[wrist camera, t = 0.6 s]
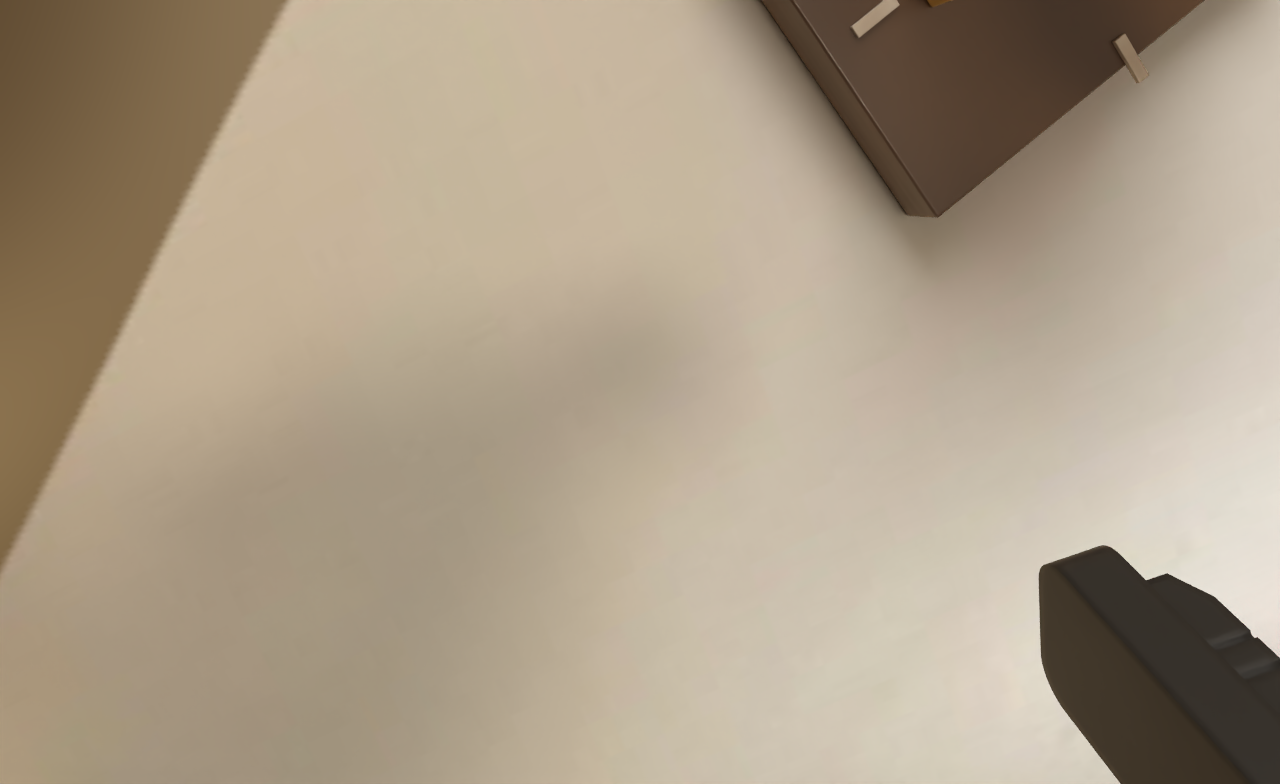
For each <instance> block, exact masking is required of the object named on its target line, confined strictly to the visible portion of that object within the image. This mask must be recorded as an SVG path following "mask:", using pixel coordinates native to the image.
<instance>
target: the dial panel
mask: <svg viewBox="0 0 1280 784" xmlns="http://www.w3.org/2000/svg"><path fill="white" fill-rule="evenodd" d="M1203 1H1204V0H952V1H949V2H946V3H943V4H941V5H938V6H935V7H931V6H930V4H929V2H928V1H927V0H762V2H763V3H764V5H765V6H766V8H767V9H768V11H769V12H770V14H771V15H772V17H773V18H774V19H775V21H776V22H777V24H778V25H779V27H780V28H781V30H782V31H783V33H784V34H785V36H786V37H787V39H788V40H789V42H790V43H791V44H792V46H793V47H794V49H795V50H796V52H797V53H798V55H799V56H800V58H801V59H802V61H803V62H804V64H805V65H806V67H807V68H808V69H809V71H810V72H811V74H812V75H813V77H814V78H815V80H816V81H817V83H818V84H819V86H820V87H821V89H822V90H823V92H824V93H825V94H826V96H827V97H828V99H829V100H830V102H831V103H832V105H833V106H834V108H835V109H836V111H837V112H838V114H839V115H840V117H841V118H842V119H843V121H844V122H845V124H846V125H847V127H848V128H849V130H850V131H851V133H852V134H853V136H854V137H855V139H856V140H857V142H858V143H859V144H860V146H861V147H862V149H863V150H864V152H865V153H866V155H867V156H868V158H869V159H870V161H871V162H872V164H873V165H874V167H875V168H876V169H877V171H878V172H879V174H880V175H881V177H882V178H883V180H884V181H885V183H886V184H887V186H888V187H889V189H890V190H891V192H892V193H893V194H894V196H895V197H896V199H897V200H898V202H899V203H900V205H901V206H902V208H903V209H904V211H905V212H906V214H907V215H909V216H920V217H935V218H937V217H939V216H940V215H942V214H943V213H944V212H945V211H947V210H948V209H949V208H950V207H951V206H953V205H954V204H955V203H956V202H958V201H959V200H960V199H961V198H963V197H964V196H965V195H966V194H967V193H969V192H970V191H971V190H972V189H974V188H975V187H976V186H977V185H978V184H980V183H981V182H982V181H983V180H985V179H986V178H987V177H988V176H990V175H991V174H992V173H993V172H994V171H996V170H997V169H998V168H999V167H1001V166H1002V165H1003V164H1004V163H1006V162H1007V161H1008V160H1009V159H1010V158H1012V157H1013V156H1014V155H1015V154H1017V153H1018V152H1019V151H1020V150H1021V149H1023V148H1024V147H1025V146H1026V145H1028V144H1029V143H1030V142H1031V141H1033V140H1034V139H1035V138H1036V137H1037V136H1039V135H1040V134H1041V133H1042V132H1044V131H1045V130H1046V129H1047V128H1048V127H1050V126H1051V125H1052V124H1053V123H1055V122H1056V121H1057V120H1058V119H1060V118H1061V117H1062V116H1063V115H1064V114H1066V113H1067V112H1068V111H1069V110H1071V109H1072V108H1073V107H1074V106H1075V105H1077V104H1078V103H1079V102H1080V101H1082V100H1083V99H1084V98H1085V97H1087V96H1088V95H1089V94H1090V93H1091V92H1093V91H1094V90H1095V89H1096V88H1098V87H1099V86H1100V85H1101V84H1103V83H1104V82H1105V81H1106V80H1107V79H1109V78H1110V77H1111V76H1112V75H1114V74H1115V73H1116V72H1117V71H1118V70H1120V69H1121V68H1122V67H1123V66H1125V65H1126V66H1127V68H1128V70H1129V72H1130V73H1131V75H1132V77H1133V78H1134V80H1135V82H1136V83H1140V82H1141V81H1143V80H1144V79H1145V78H1146V77H1147V76H1149V74H1148V72H1147V70H1146V69H1145V67H1144V65H1143V63H1142V62H1141V60H1140V58H1139V56H1138V54H1139V53H1141V52H1142V51H1143V50H1144V49H1145V48H1147V47H1148V46H1149V45H1150V44H1152V43H1153V42H1154V41H1155V40H1157V39H1158V38H1159V37H1160V36H1161V35H1163V34H1164V33H1165V32H1166V31H1168V30H1169V29H1170V28H1171V27H1172V26H1174V25H1175V24H1176V23H1177V22H1179V21H1180V20H1181V19H1182V18H1184V17H1185V16H1186V15H1187V14H1188V13H1190V12H1191V11H1192V10H1193V9H1195V8H1196V7H1197V6H1198V5H1199V4H1201V3H1202V2H1203Z"/></svg>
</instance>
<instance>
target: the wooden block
mask: <svg viewBox="0 0 1280 784" xmlns="http://www.w3.org/2000/svg"><path fill="white" fill-rule="evenodd" d="M927 1H928V2H929V4H930V6H931V7H935V6H938V5H941V4H943V3H946V2H949V1H952V0H927Z"/></svg>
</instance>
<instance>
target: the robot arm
mask: <svg viewBox="0 0 1280 784" xmlns="http://www.w3.org/2000/svg"><path fill="white" fill-rule="evenodd" d="M1039 605H1040V638H1041V658H1042V664H1043V667H1044V671H1045V674H1046V677H1047V679H1048V682H1049V684H1050V686H1051V689H1052V691H1053V693H1054V695H1055V696H1056V698H1057V700H1058V701H1059V703H1060V705H1061V706H1062V708H1063V709H1064V710H1065V712H1066V713H1067V714H1068V716H1069V717H1070V718H1071V720H1072V721H1073V722H1074V723H1075V725H1076V726H1077V727H1078V729H1079V730H1080V731H1081V733H1082V734H1083V735H1084V736H1085V738H1086V739H1087V740H1088V742H1089V743H1090V744H1091V746H1092V747H1093V748H1094V750H1095V751H1096V752H1097V753H1098V755H1099V756H1100V757H1101V759H1102V760H1103V761H1104V763H1105V764H1106V765H1107V766H1108V768H1109V769H1110V770H1111V772H1112V773H1113V774H1114V776H1115V777H1116V778H1117V779H1118V781H1119V782H1120V783H1121V784H1280V658H1279V657H1278V656H1277V655H1276V654H1275V653H1274V652H1273V651H1272V650H1271V649H1270V648H1268V647H1267V646H1266V645H1265V644H1264V643H1263V642H1262V641H1261V640H1260V639H1259V638H1258V637H1257V638H1254V637H1253V636H1252V635H1251V632H1250V630H1249V629H1248V628H1247V627H1246V626H1245V625H1244V624H1243V623H1242V622H1241V621H1240V620H1239V619H1238V618H1236V617H1235V616H1234V615H1233V614H1232V613H1231V612H1230V611H1229V610H1228V609H1227V608H1226V607H1225V606H1224V605H1223V604H1222V603H1221V602H1219V601H1218V600H1217V599H1216V598H1215V597H1214V596H1212V595H1210V594H1208V593H1206V592H1204V591H1202V590H1200V589H1197V588H1195V587H1193V586H1191V585H1189V584H1187V583H1185V582H1183V581H1181V580H1179V579H1177V578H1175V577H1173V576H1171V575H1169V574H1164V575H1161V576H1158V577H1155V578H1152V579H1149V580H1145V579H1144V578H1143V577H1142V576H1141V575H1140V574H1139V573H1138V572H1137V571H1136V570H1135V569H1134V568H1133V567H1132V566H1131V565H1130V564H1129V563H1128V562H1127V561H1126V560H1125V559H1124V558H1123V557H1122V556H1121V555H1120V554H1119V553H1118V552H1117V551H1115V550H1114V549H1112V548H1111V547H1108V546H1104V545H1102V546H1098V547H1095V548H1092V549H1090V550H1087V551H1084V552H1081V553H1078V554H1075V555H1072V556H1069V557H1066V558H1063V559H1060V560H1057V561H1054V562H1051V563H1048V564H1046V565H1043V566H1042V567H1041V569H1040V572H1039Z"/></svg>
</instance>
